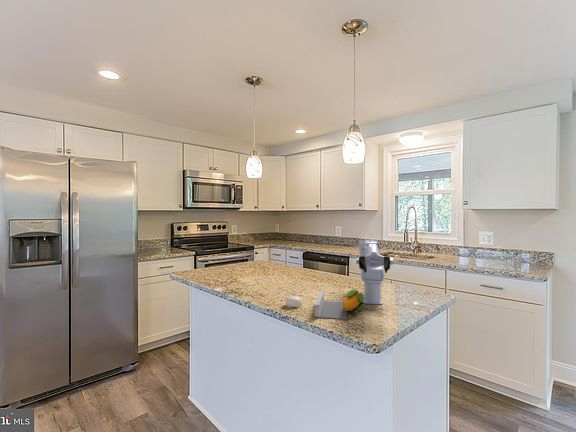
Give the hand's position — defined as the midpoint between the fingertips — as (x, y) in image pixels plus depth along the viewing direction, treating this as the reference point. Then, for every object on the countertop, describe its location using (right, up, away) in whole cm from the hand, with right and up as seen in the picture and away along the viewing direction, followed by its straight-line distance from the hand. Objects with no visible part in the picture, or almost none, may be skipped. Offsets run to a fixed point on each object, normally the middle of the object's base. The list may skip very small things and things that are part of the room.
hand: (375, 270), depth 117 cm
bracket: (-16, -18, +9) cm, 25 cm away
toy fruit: (-8, -18, +7) cm, 21 cm away
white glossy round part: (-32, -18, +15) cm, 39 cm away
